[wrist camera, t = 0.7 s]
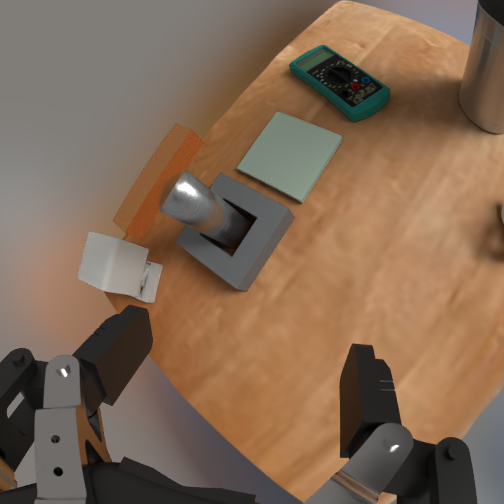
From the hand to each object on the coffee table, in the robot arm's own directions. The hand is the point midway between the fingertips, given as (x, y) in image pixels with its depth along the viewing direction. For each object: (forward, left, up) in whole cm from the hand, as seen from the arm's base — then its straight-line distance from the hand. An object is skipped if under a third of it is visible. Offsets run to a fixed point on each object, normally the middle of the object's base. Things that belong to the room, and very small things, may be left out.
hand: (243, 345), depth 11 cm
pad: (-16, -14, -22) cm, 30 cm away
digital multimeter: (-30, -14, -22) cm, 40 cm away
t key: (-4, -14, -22) cm, 26 cm away
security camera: (+8, -23, -22) cm, 33 cm away
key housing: (-4, -14, -22) cm, 26 cm away
